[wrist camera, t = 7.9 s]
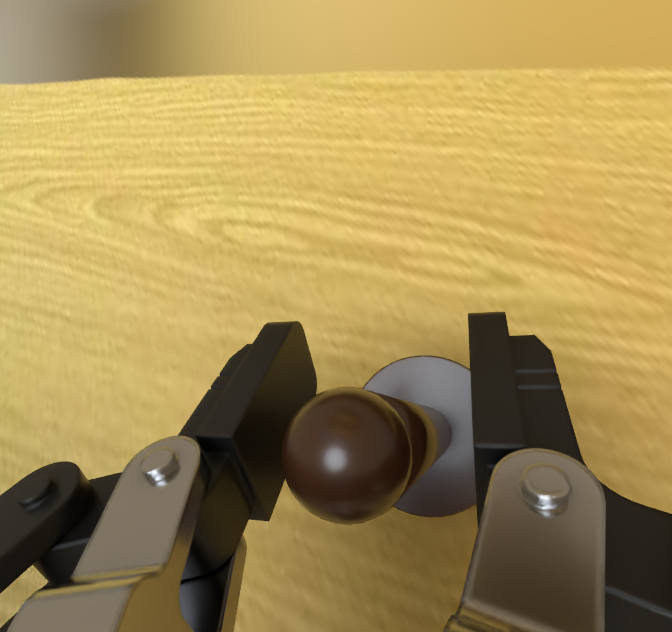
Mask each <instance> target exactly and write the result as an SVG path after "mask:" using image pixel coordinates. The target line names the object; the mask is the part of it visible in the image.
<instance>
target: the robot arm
mask: <svg viewBox="0 0 672 632" xmlns="http://www.w3.org/2000/svg"><path fill="white" fill-rule="evenodd" d="M468 325H469V350H470V375H471V400H472V425H473V449H474V466H475V484H476V501H477V519H478V532H477V536H476V540H475V544H474V549H473V553H472V557H471V561H470V565H469V569H468V573H467V577H466V581H465V586H464V590H463V594H462V598H461V601H460V605H459V607H458V610H457V612H456V614H455V615H452V616H451V617H450V618H449V620H448V621H447V624H446V626H445V628H444V631H443V632H672V514H670V513H667V512H664V511H660V510H657V509H654V508H651V507H647V506H644V505H641V504H639V503H636V502H633V501H631V500H629V499H627V498H625V497H622V496H620V495H619V494H617V493H615V492H614V491H612V490H610V489H609V488H608V487H606V486H605V485H604V484H602V483H601V482H600V481H599V480H598V479H597V478H596V477H595V475H594V474H593V473H592V472H591V471H590V470H589V469H588V468H587V466H586V464H585V463H584V461H583V459H582V456H581V454H580V450H579V447H578V443H577V440H576V436H575V433H574V429H573V426H572V422H571V419H570V415H569V412H568V409H567V405H566V402H565V398H564V395H563V391H562V390H561V384H560V381H559V377H558V374H557V373H556V367H555V363H554V360H553V356H552V353H551V350H550V349H548V348H547V347H546V346H545V345H544V344H543V343H542V342H541V341H540V340H539V339H538V338H537V337H536V336H535V335H524V336H509V332H508V326H507V320H506V314H505V312H487V313H468ZM316 391H317V378H316V373H315V369H314V365H313V362H312V358H311V354H310V351H309V347H308V344H307V340H306V337H305V333H304V330H303V327H302V325H301V324H300V322H298V321H292V322H271V323H266V324H265V325H264V327H263V328H262V330H261V331H260V333H259V335H258V336H257V338H256V339H255V341H254V342H253V344H247V345H246V346H244V347H243V348H242V349H241V350H239V351H238V352H237V353H236V354H234V355H233V356H232V357H231V358H230V359H229V360H228V362H227V363H226V365H225V366H224V368H223V369H222V371H221V372H220V376H219V377H217V378H216V380H215V381H214V383H213V384H212V386H211V390H208V392H207V393H206V394H205V396H204V397H203V399H202V400H201V402H200V403H199V405H198V406H197V408H196V409H195V411H194V412H193V414H192V415H191V417H190V418H189V420H188V421H187V423H186V424H185V426H184V427H183V429H182V430H181V432H180V433H179V434H178V436H172V437H167V438H164V439H161V440H158V441H156V442H154V443H152V444H150V445H149V446H147V447H145V448H144V449H143V450H141V451H140V452H139V453H138V454H136V455H135V456H134V457H133V458H132V459H131V460H130V462H129V463H128V464H127V466H126V467H125V469H124V471H123V472H121V473H117V474H112V475H108V476H104V477H100V478H96V479H91V480H87V478H86V477H85V476H84V474H83V473H82V471H81V470H80V469H79V467H78V466H77V465H76V464H74V463H72V462H57V463H53V464H49V465H47V466H44V467H42V468H40V469H38V470H36V471H34V472H32V473H31V474H29V475H27V476H26V477H25V478H23V479H22V480H20V481H19V482H18V483H16V484H15V485H14V486H12V487H11V488H10V489H9V490H7V491H6V492H5V493H3V494H2V495H1V496H0V593H1V592H2V591H4V590H5V589H6V588H7V587H8V586H9V585H10V584H11V583H12V582H13V581H15V580H16V579H17V578H18V577H19V576H20V575H21V574H22V573H23V572H25V571H26V570H27V569H28V568H29V567H30V566H31V565H33V566H34V567H35V568H36V569H37V570H38V571H39V572H40V573H41V574H42V575H43V576H44V577H45V578H46V579H47V580H48V581H49V582H48V583H47V584H46V585H45V586H44V587H43V588H41V589H39V590H37V591H36V592H35V593H33V594H32V595H31V596H30V597H29V598H28V599H27V600H26V601H25V602H24V604H23V605H22V606H21V607H20V609H19V611H18V612H17V613H16V614H15V615H14V616H13V617H12V618H11V619H9V620H8V621H7V622H6V623H5V624H4V625H3V626H2V627H1V628H0V632H233V631H234V625H235V619H236V613H237V607H238V601H239V595H240V588H241V582H242V576H243V570H244V564H245V558H246V550H247V546H246V540H245V538H244V536H243V532H244V530H245V527H246V525H247V522H248V520H249V519H250V520H261V521H269V520H270V518H271V515H272V512H273V510H274V507H275V504H276V502H277V499H278V496H279V494H280V491H281V488H282V486H283V483H284V480H285V476H284V473H283V467H282V460H281V456H282V443H283V439H284V434H285V432H286V429H287V427H288V424H289V422H290V421H291V419H292V418H293V416H294V415H295V413H296V412H297V411H298V410H299V409H300V408H301V407H302V406H303V404H304V403H305V402H307V401H308V400H309V399H311V398H312V397H314V396H315V395H316Z"/></svg>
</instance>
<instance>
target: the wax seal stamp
mask: <svg viewBox="0 0 672 632" xmlns="http://www.w3.org/2000/svg"><path fill="white" fill-rule="evenodd" d="M281 460H282V467H283V473H284V476H285V479H286V482H287V484H288V486H289V488H290V490H291V492H292V494H293V495H294V497H295V498H296V499H297V500H298V502H299V503H300V504H301V505H302V506H303V507H304V508H305V509H307V510H308V511H309V512H310V513H312V514H314V515H315V516H317V517H319V518H321V519H323V520H326V521H329V522H332V523H335V524H344V525H352V524H359V523H364V522H366V521H369V520H372V519H375V518H377V517H379V516H380V515H382V514H384V513H385V512H386V511H388V510H389V509H390V508H391V507H392V506H393V507H395V508H397V509H399V510H401V511H404V512H406V513H409V514H413V515H417V516H423V517H444V516H449V515H454V514H457V513H460V512H463V511H464V510H466V509H468V508H470V507H472V506H474V505H475V504H477V501H476V484H475V466H474V449H473V425H472V400H471V375H470V369H468V368H467V367H465V366H463V365H461V364H459V363H457V362H455V361H452V360H450V359H446V358H442V357H436V356H413V357H407V358H404V359H400V360H398V361H395V362H393V363H391V364H389V365H387V366H385V367H384V368H382V369H381V370H380V371H378V372H377V373H376V374H375V375H374V376H373V377H372V378H371V379H370V380H369V381H368V382H367V383H366V384H365V386H364V387H363V388H362V389H361V388H355V387H340V388H335V389H330V390H326V391H324V392H321V393H319V394H317V395H315V396H314V397H312V398H311V399H309V400H308V401H307V402H305V403H304V404H303V406H302V407H301V408H300V409H299V410H298V411H297V412H296V413H295V415H294V416H293V418H292V419H291V421H290V422H289V424H288V427H287V429H286V432H285V434H284V439H283V443H282V456H281Z"/></svg>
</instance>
